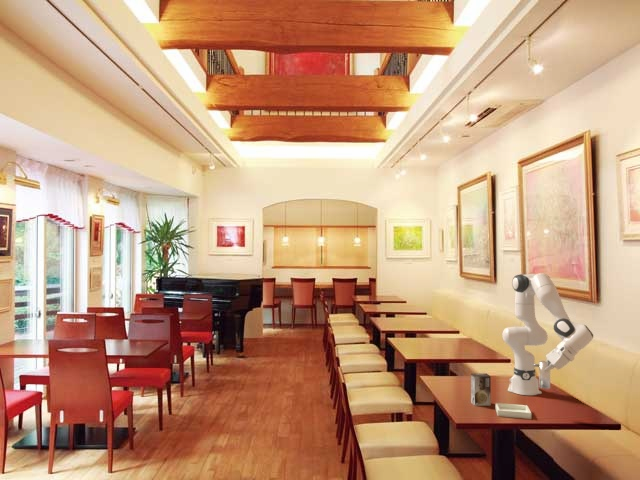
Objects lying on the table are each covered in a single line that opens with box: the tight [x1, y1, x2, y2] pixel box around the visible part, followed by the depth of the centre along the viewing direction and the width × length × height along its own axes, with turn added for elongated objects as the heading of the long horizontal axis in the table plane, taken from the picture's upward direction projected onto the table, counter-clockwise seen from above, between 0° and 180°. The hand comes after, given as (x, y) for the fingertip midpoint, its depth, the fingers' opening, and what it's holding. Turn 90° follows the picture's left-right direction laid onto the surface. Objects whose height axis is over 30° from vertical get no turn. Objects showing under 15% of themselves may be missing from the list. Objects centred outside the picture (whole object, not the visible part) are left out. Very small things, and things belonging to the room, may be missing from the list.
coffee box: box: [470, 372, 492, 407], centre depth 278 cm, size 9×6×16 cm
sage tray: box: [494, 402, 532, 420], centre depth 262 cm, size 13×16×3 cm
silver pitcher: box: [533, 360, 551, 390], centre depth 258 cm, size 5×8×13 cm, turn 77°
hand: (544, 369), depth 258 cm, fingers closed on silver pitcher, 5 cm apart
